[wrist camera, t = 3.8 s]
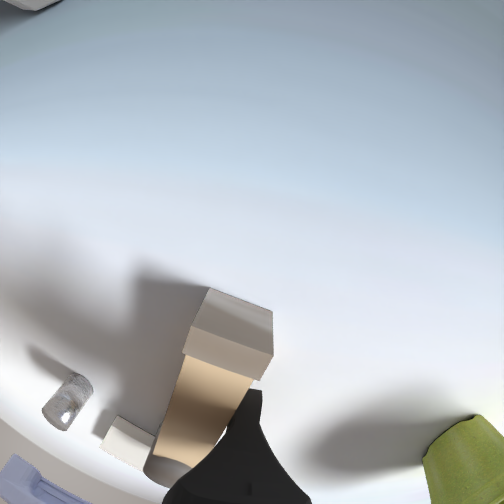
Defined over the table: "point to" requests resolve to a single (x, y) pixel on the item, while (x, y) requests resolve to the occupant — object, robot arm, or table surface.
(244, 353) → the oak arm
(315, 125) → the table surface
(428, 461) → the plant pot
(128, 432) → the mounting plate
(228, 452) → the robot arm
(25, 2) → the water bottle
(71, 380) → the stop post
